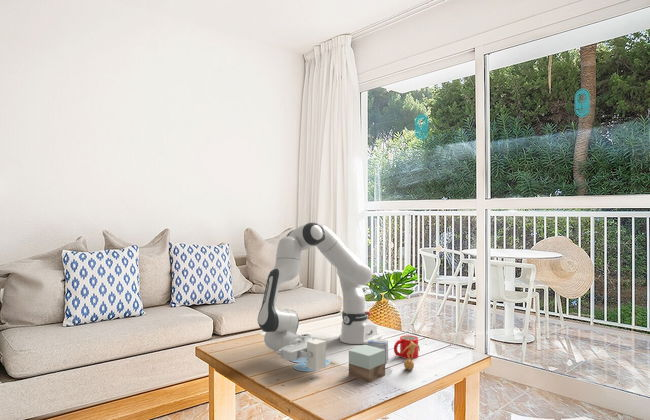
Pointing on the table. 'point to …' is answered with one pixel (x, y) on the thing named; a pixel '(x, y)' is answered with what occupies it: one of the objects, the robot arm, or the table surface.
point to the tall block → (316, 354)
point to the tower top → (367, 356)
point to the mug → (404, 343)
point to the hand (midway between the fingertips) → (317, 353)
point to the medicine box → (380, 346)
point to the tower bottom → (367, 372)
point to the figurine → (409, 363)
